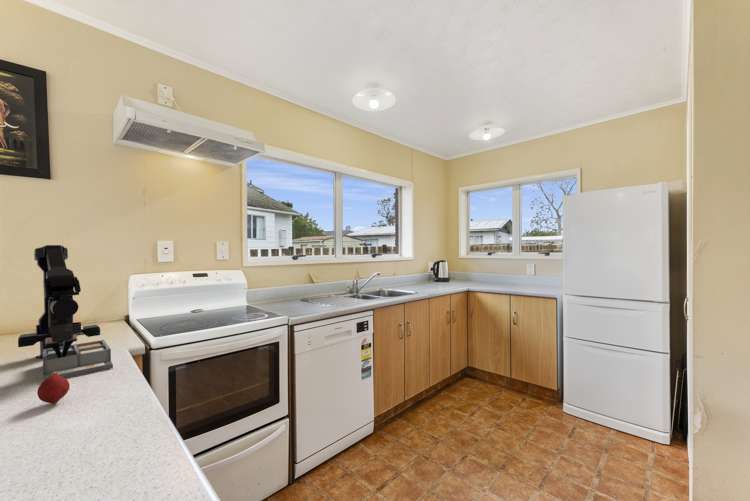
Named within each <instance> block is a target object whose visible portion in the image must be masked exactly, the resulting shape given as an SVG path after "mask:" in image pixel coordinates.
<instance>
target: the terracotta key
mask: <svg viewBox="0 0 750 501" xmlns="http://www.w3.org/2000/svg"><path fill="white" fill-rule="evenodd" d="M98 345H101V344H100V343H99V344H93V345H87V346H80V347H78V349H80V348H86V347H92V346H98Z"/></svg>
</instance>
